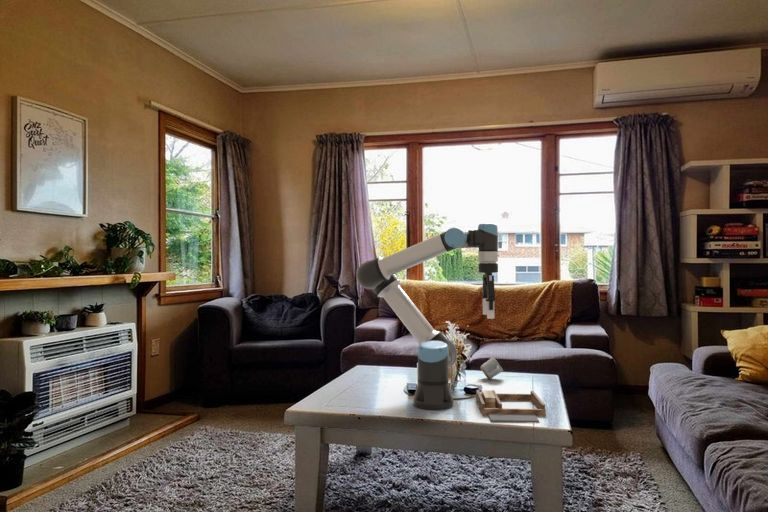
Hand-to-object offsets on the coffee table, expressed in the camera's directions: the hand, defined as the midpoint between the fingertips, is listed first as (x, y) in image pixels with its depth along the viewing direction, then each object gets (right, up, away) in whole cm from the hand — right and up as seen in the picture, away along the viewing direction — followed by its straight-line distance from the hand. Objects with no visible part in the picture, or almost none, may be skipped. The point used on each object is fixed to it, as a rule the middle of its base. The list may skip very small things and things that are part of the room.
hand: (488, 316), depth 204 cm
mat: (+3, -33, -25) cm, 41 cm away
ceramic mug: (+8, -33, +33) cm, 47 cm away
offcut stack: (-2, -33, -11) cm, 35 cm away
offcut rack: (+5, -33, -11) cm, 35 cm away
